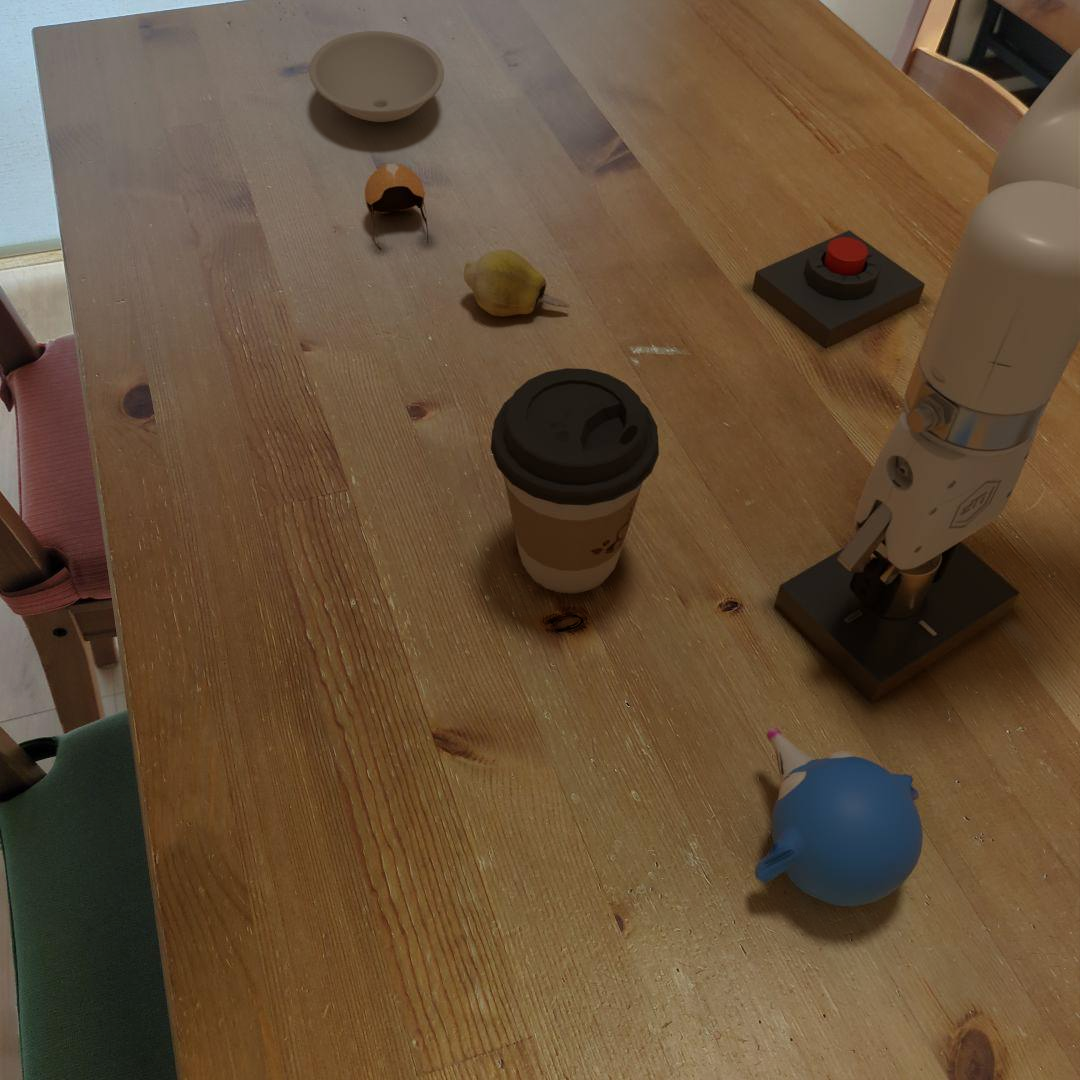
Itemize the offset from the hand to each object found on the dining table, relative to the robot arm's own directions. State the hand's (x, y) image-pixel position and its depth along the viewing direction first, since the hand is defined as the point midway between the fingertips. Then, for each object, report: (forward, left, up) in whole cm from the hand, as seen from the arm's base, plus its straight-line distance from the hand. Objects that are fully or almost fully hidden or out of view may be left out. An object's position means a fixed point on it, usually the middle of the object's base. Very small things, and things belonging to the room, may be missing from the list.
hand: (894, 583), depth 78 cm
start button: (-23, -29, 0) cm, 37 cm away
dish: (-3, -81, -4) cm, 81 cm away
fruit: (+3, -44, -4) cm, 44 cm away
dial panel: (-1, 0, -4) cm, 4 cm away
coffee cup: (+16, -17, -4) cm, 24 cm away
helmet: (+6, -61, -4) cm, 61 cm away
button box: (-23, -29, -4) cm, 37 cm away
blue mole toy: (+16, +10, -4) cm, 19 cm away
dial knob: (0, 0, -1) cm, 1 cm away
